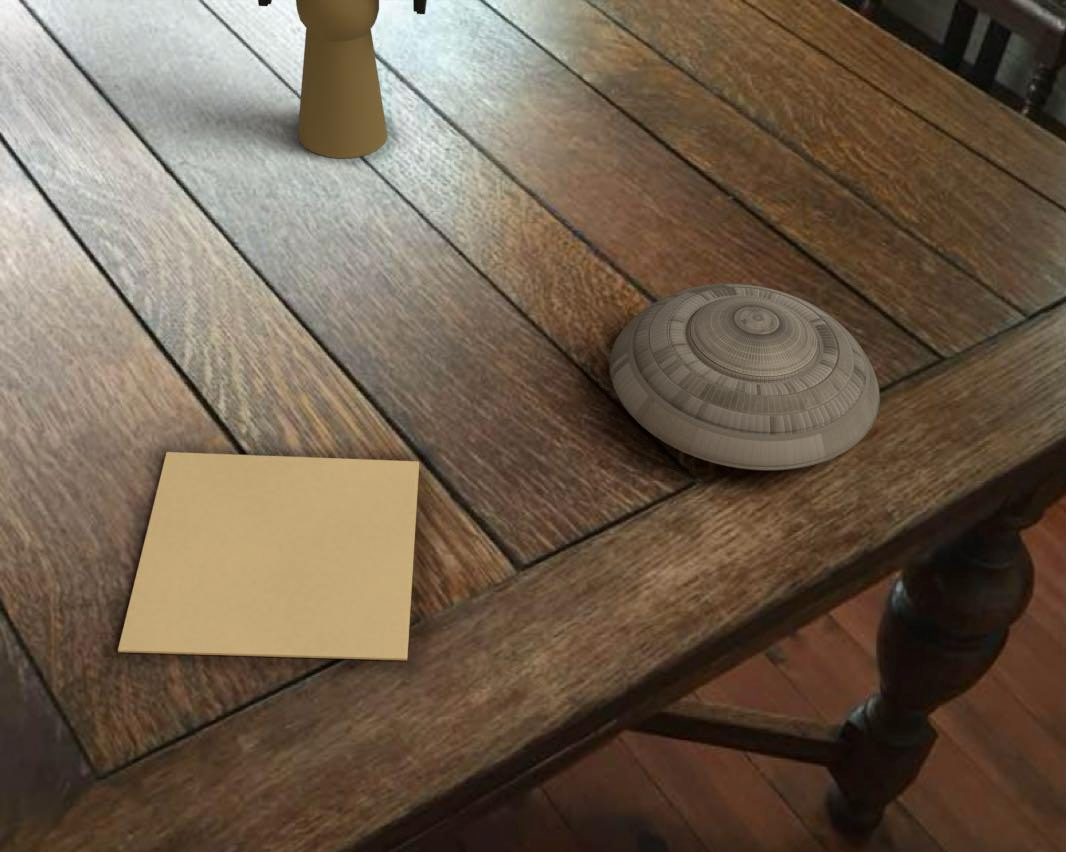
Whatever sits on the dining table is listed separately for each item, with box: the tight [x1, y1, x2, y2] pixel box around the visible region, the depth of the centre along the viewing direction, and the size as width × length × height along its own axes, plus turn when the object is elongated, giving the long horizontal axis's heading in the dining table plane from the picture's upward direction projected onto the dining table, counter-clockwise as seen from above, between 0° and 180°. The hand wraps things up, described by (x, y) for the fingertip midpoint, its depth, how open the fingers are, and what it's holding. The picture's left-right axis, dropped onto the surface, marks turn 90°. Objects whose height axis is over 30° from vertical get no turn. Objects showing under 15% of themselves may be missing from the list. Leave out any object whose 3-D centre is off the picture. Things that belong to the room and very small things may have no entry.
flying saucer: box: [609, 283, 881, 471], centre depth 74 cm, size 15×15×6 cm
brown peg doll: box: [295, 0, 388, 159], centre depth 88 cm, size 6×6×11 cm
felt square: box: [117, 451, 420, 661], centre depth 66 cm, size 13×13×1 cm
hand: (344, 0), depth 86 cm, fingers open, 9 cm apart
